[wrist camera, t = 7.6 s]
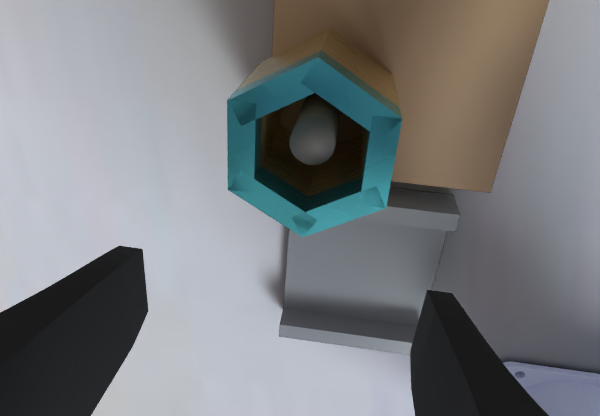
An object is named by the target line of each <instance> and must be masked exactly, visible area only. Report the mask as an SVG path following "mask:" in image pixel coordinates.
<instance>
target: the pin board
mask: <svg viewBox="0 0 600 416" xmlns="http://www.w3.org/2000/svg"><path fill="white" fill-rule="evenodd" d="M548 3H549V0H274V22H273V45H272V56H274V55H276V54H278V53H280V52H283V51H285V50H287V49H289V48H291V47H293V46H295V45H297V44H299V43H301V42H303V41H305V40H307V39H309V38H311V37H313V36H315V35H317V34H319V33H321V32H323V31H325V30H327V29H329V28H331V29H332V30H334V31H335V32H336V33H338V34H339V35H340V36H342V37H343V38H344V39H346V40H347V41H348V42H350V43H351V44H352V45H354V46H355V47H356V48H358V49H359V50H360V51H362V52H363V53H364V54H366V55H367V56H368V57H370V58H371V59H372V60H374V61H375V62H376V63H378V64H379V65H380V66H382V67H383V68H384V69H386V70H387V71H388V72H390V73H391V74H393V78H394V83H395V87H396V92H397V96H398V101H399V105H400V110H401V114H402V124H401V129H400V135H399V140H398V146H397V151H396V157H395V162H394V168H393V173H392V179H391V181H394V182H402V183H411V184H419V185H428V186H436V187H445V188H453V189H462V190H470V191H479V192H487V193H491V189H492V186H493V183H494V179H495V176H496V173H497V170H498V166H499V163H500V160H501V157H502V153H503V150H504V147H505V144H506V140H507V137H508V134H509V130H510V127H511V124H512V121H513V117H514V114H515V111H516V108H517V104H518V101H519V98H520V95H521V91H522V88H523V85H524V82H525V78H526V75H527V72H528V68H529V65H530V62H531V59H532V55H533V52H534V49H535V46H536V42H537V39H538V36H539V33H540V29H541V26H542V23H543V19H544V16H545V13H546V10H547V6H548ZM280 125H282V126H283V127H285V128H286V129H288V130H289V131H291V132H292V134H291V136H290V141H289V142H290V149H291V152H292V153H293V155H294V156H295V157H296V158H297V159H298V160H299V161H301V162H302V163H305V164H309V165H317V164H321V163H323V162H325V161H327V160H328V159H329V158H330V157H331V156H332V154H333V152H334V149H335V144H336V143H338V142H341V141H343V140H346V139H348V138H351V137H353V136H356V135H358V134H360V133H362V129H363V126H361V125H360V124H358V123H357V122H356V121H354V120H353V119H351V118H350V117H349V116H347V115H346V114H344V113H343V112H342V111H340V110H339V109H337V108H336V107H335V106H333V105H332V104H330V103H329V102H328V101H326V100H325V99H323V98H322V97H320V96H319V95H318V94H316V93H313V94H311V95H309V96H307V97H305V98H302V99H300V100H298V101H296V102H294V103H291V104H289V105H287V106H285V107H282V108H281V114H280Z"/></svg>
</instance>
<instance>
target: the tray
mask: <svg viewBox="0 0 600 416" xmlns="http://www.w3.org/2000/svg"><path fill="white" fill-rule="evenodd" d="M459 218H460V213H459V210H458V208H457V205H456V202H455V199H454V196H453V195H451V194H442V193H434V192H425V191H417V190H408V189H400V188H391V187H390V190H389V195H388V201H387V206H386V208H385V209H382V210H380V211H377V212H374V213H371V214H368V215H365V216H363V217H360V218H357V219H354V220H351V221H348V222H345V223H343V224H340V225H337V226H334V227H331V228H328V229H325V230H323V231H320V232H317V233H314V234H311V235H308V236H306V237H301V236H300V235H298V234H297V233H295V232H294V231H292V230H290V229H289V238H288V252H287V266H286V279H285V293H284V306H283V312H282V317H281V321H280V328H279V337H286V338H293V339H300V340H307V341H314V342H321V343H328V344H335V345H342V346H349V347H357V348H364V349H371V350H378V351H385V352H392V353H399V354H406V355H410V350H411V346H412V343H413V339H414V335H415V332H416V328H417V325H418V321H419V317H420V314H421V310H422V306H423V303H424V299H425V295H426V292H427V290H432V286H433V282H434V279H435V275H436V271H437V268H438V264H439V260H440V256H441V253H442V249H443V245H444V241H445V238H446V234H447V231H453V232H456V229H457V225H458V221H459Z"/></svg>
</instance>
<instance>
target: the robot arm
mask: <svg viewBox="0 0 600 416" xmlns="http://www.w3.org/2000/svg"><path fill="white" fill-rule="evenodd" d="M147 312H148V303H147V293H146V282H145V272H144V261H143V250H142V249H138V248H131V247H124V246H118V247H116V248H114V249H112V250H111V251H109V252H107V253H105V254H104V255H102V256H100V257H99V258H97V259H95V260H94V261H92V262H90V263H89V264H87V265H85V266H84V267H82V268H80V269H79V270H77V271H75V272H73V273H72V274H70V275H68V276H67V277H65V278H63V279H61V280H60V281H58V282H56V283H55V284H53V285H51V286H49V287H48V288H46V289H44V290H42V291H40V292H38V293H37V294H35V295H33V296H31V297H29V298H27V299H25V300H24V301H22V302H20V303H18V304H16V305H14V306H12V307H10V308H9V309H7V310H5V311H3V312H1V313H0V416H91V414H92V413H93V411H94V409H95V408H96V406H97V404H98V403H99V401H100V400H101V398H102V396H103V395H104V393H105V391H106V390H107V388H108V386H109V385H110V383H111V382H112V380H113V378H114V377H115V375H116V373H117V372H118V370H119V368H120V367H121V365H122V363H123V362H124V360H125V358H126V357H127V355H128V353H129V352H130V350H131V348H132V346H133V344H134V342H135V340H136V338H137V336H138V333H139V331H140V329H141V327H142V324H143V322H144V320H145V317H146V315H147ZM410 357H411V389H412V396H413V403H414V409H415V416H600V374H596V373H589V372H582V371H575V370H568V369H561V368H553V367H546V366H539V365H532V364H525V363H518V362H503V363H502V361H501V360H500V359H499V357H498V356H497V355H496V353H495V352H494V351H493V350H492V348H491V347H490V346H489V344H488V343H487V342H486V340H485V339H484V337H483V336H482V335H481V333H480V332H479V331H478V329H477V328H476V326H475V325H474V324H473V322H472V321H471V319H470V318H469V316H468V315H467V314H466V312H465V311H464V309H463V308H462V306H461V305H460V303H459V302H458V301H457V299H456V298H455V297H454V295H453V294H452V293H446V292H439V291H432V290H427V292H426V295H425V299H424V303H423V306H422V310H421V314H420V317H419V321H418V325H417V328H416V332H415V335H414V339H413V343H412V346H411V350H410ZM518 371H521V372H518ZM516 372H518V373H516Z"/></svg>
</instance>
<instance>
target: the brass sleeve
mask: <svg viewBox="0 0 600 416" xmlns="http://www.w3.org/2000/svg"><path fill="white" fill-rule="evenodd" d="M313 93H316V94H318V95H319V96H320V97H322V98H323V99H325V100H326V101H328V102H329V103H330V104H332V105H333V106H335V107H336V108H337V109H339V110H340V111H342V112H343V113H344V114H346V115H347V116H349V117H350V118H351V119H353V120H354V121H356V122H357V123H358V124H360V125H361V126H363V129H362V133H360V134H358V135H356V136H353V137H351V138H348V139H346V140H343V141H341V142H338V143H336V144H335V149H334V152H333V154H332V156H331V157H330V158H329V159H328V160H327V161H325V162H323V163H321V164H317V165H309V164H305V163H302V162H301V161H299V160H298V159H297V158H296V157H295V156H294V155H293V153H292V152H291V149H290V142H289V141H290V136H291V134H292V132H291V131H289V130H288V129H286V128H285V127H283V126H282V125H280V114H281V108H282V107H285V106H287V105H289V104H291V103H294V102H296V101H298V100H300V99H302V98H305V97H307V96H309V95H311V94H313ZM227 123H228V190H229V191H231V192H232V193H234V194H235V195H237V196H239V197H240V198H242V199H243V200H245V201H246V202H248V203H250V204H251V205H253V206H254V207H256V208H257V209H259V210H261V211H262V212H264V213H265V214H267V215H268V216H270V217H272V218H273V219H275V220H276V221H278V222H279V223H281V224H283V225H284V226H286V227H287V228H289V229H290V230H292V231H294V232H295V233H297V234H298V235H300V236H301V237H306V236H308V235H311V234H314V233H317V232H320V231H323V230H325V229H328V228H331V227H334V226H337V225H340V224H343V223H345V222H348V221H351V220H354V219H357V218H360V217H363V216H365V215H368V214H371V213H374V212H377V211H380V210H382V209H385V208H386V206H387V201H388V195H389V190H390V184H391V179H392V173H393V168H394V162H395V157H396V151H397V146H398V140H399V135H400V129H401V124H402V114H401V110H400V105H399V101H398V96H397V92H396V87H395V83H394V78H393V74H391V73H390V72H388V71H387V70H386V69H384V68H383V67H382V66H380V65H379V64H378V63H376V62H375V61H374V60H372V59H371V58H370V57H368V56H367V55H366V54H364V53H363V52H362V51H360V50H359V49H358V48H356V47H355V46H354V45H352V44H351V43H350V42H348V41H347V40H346V39H344V38H343V37H342V36H340V35H339V34H338V33H336V32H335V31H334V30H332V29H331V28H329V29H327V30H325V31H323V32H321V33H319V34H317V35H315V36H313V37H311V38H309V39H307V40H305V41H303V42H301V43H299V44H297V45H295V46H293V47H291V48H289V49H287V50H285V51H283V52H280V53H278V54H276V55H274V56H272V57H270V58H268V59H266V60H264V61H262V62H261V63H260V64H259V65H258V66H257V67H256V69H255V70H254V71H253V72H252V73H251V74H250V75H249V76H248V78H247V79H246V80H245V81H244V82H243V83H242V84H241V85H240V87H239V88H238V89H237V90H236V91H235V92H234V93H233V95H232V96H231V97H230V98H229V99H228V100H227Z"/></svg>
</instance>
